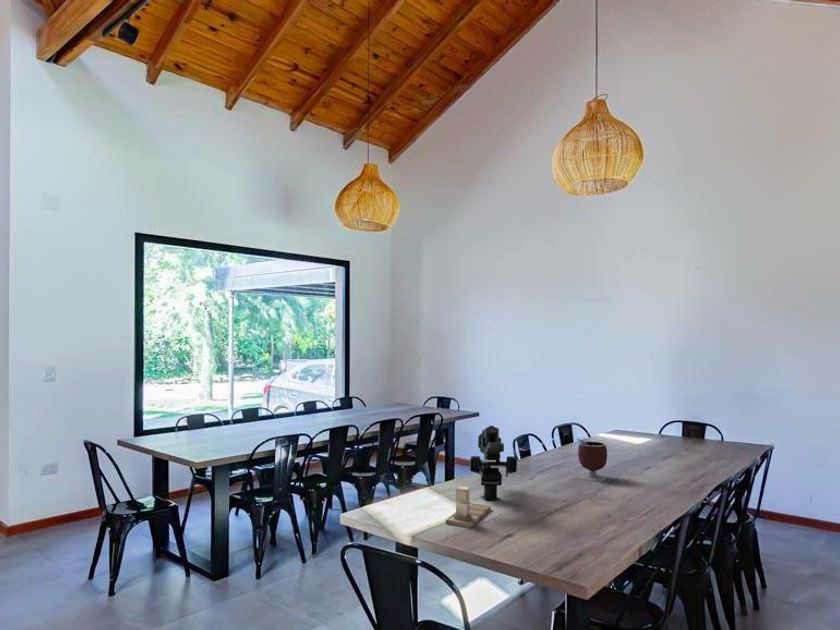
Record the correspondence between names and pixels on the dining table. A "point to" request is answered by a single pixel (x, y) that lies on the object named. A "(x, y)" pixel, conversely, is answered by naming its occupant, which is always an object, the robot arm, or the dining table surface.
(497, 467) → the robot arm
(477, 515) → the walnut board
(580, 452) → the mate gourd
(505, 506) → the dining table surface
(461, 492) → the tall beige pillar block
